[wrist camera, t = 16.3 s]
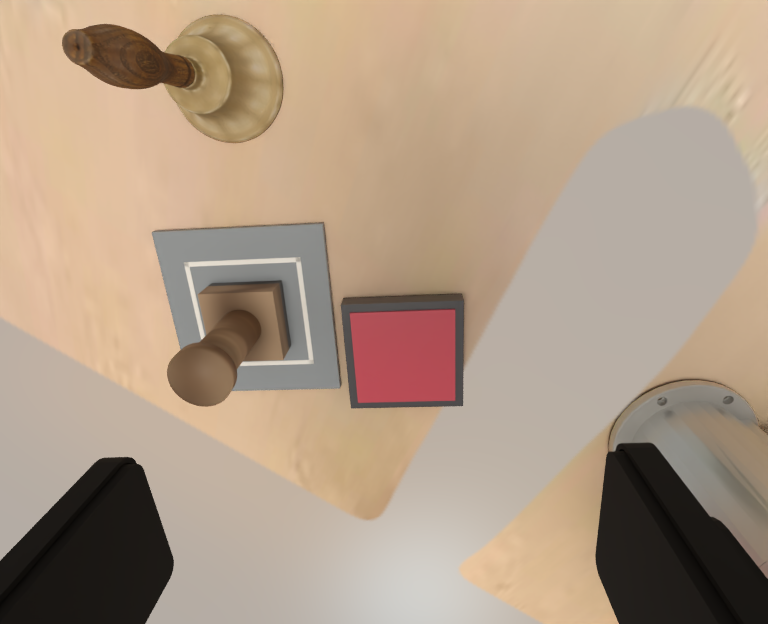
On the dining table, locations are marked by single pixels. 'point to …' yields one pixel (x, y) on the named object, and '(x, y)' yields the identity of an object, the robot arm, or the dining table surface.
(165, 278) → the board
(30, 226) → the dining table surface
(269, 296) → the stamp
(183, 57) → the hand bell
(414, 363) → the ink pad
